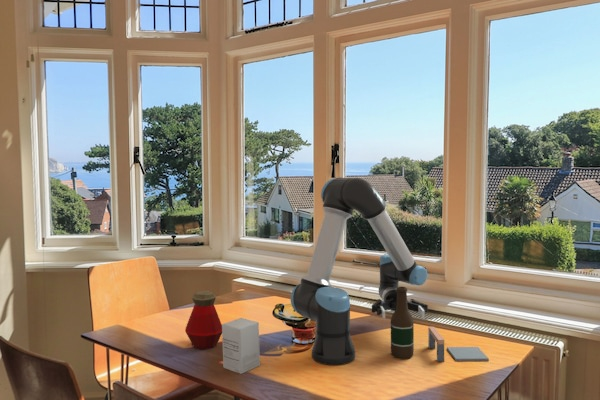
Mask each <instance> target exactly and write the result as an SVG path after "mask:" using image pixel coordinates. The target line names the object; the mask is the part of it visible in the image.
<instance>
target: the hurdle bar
mask: <svg viewBox="0 0 600 400" xmlns="http://www.w3.org/2000/svg"><path fill="white" fill-rule="evenodd" d="M427 328H428V331H429V332H430V334H431V335H432V336H433V338H434V339H435V343H436V344H437V343H438V344H444V345H445V339H444V338H443V336H442V335H441V333H440V332H439V331H438V330H437V329H436V328H435V326H428V327H427ZM428 331H427V332H428Z"/></svg>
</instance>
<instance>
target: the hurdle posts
mask: <svg viewBox="0 0 600 400" xmlns="http://www.w3.org/2000/svg"><path fill="white" fill-rule="evenodd" d="M427 333H428V336H427V337H428V338H427V339H428V341H427V342H428V348H429V350H436V360H437V362H438V363H440V362H441V363H443V362H444V363H445V343H444V344H438V343H437V342H436V340H435V339H434V338H433V336H432V335H431V334H430V332H429V331H427Z"/></svg>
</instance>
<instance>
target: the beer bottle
mask: <svg viewBox="0 0 600 400" xmlns="http://www.w3.org/2000/svg"><path fill="white" fill-rule="evenodd" d="M396 291H397V304H396V310H395V311H393V313H392V316H391V318H390V354H391V356H392V357H394V359H400V360H408V359H409V360H410V359H411V358H412V357H413V356H414V349H415V348H414V347H415V345H414V340H415V339H414V338H415V337H414V335H415V334H414V319H413V316H412V314H411V313H410V311H409V309H408V306H407V300H408V295H407V294H408V288H407V287H405V286H398V288H397V289H396Z"/></svg>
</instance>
